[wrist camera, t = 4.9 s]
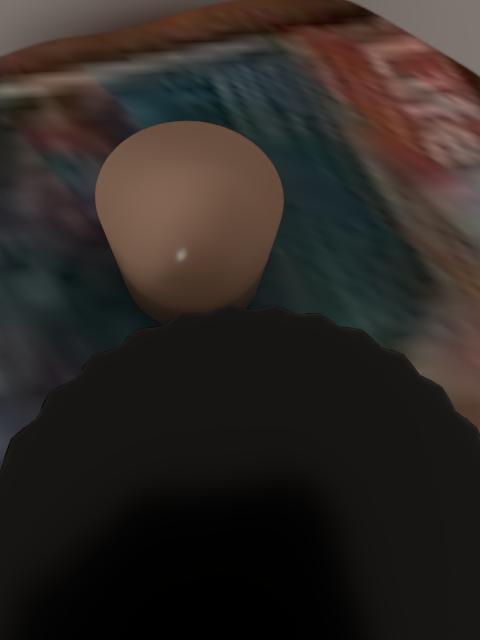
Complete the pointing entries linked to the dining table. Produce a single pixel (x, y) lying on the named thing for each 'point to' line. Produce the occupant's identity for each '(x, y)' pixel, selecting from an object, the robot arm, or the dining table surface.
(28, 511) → the supplement bottle
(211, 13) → the dining table surface
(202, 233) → the tan rounded piece
